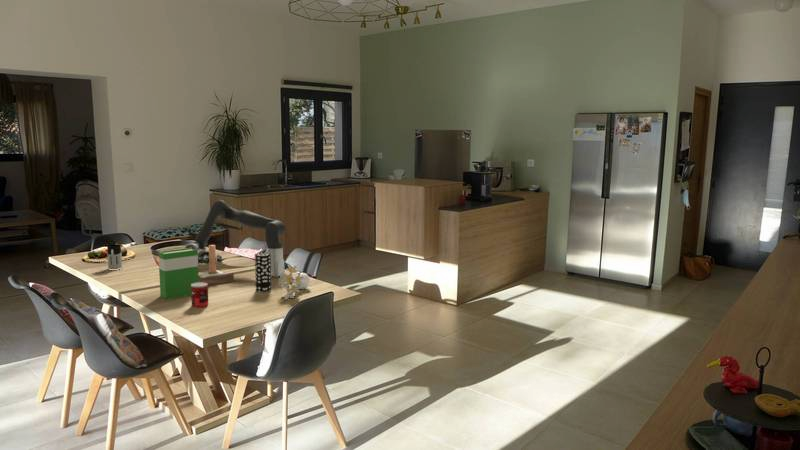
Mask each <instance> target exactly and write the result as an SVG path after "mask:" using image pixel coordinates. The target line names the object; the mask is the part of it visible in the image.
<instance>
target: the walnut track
mask: <svg viewBox="0 0 800 450" xmlns="http://www.w3.org/2000/svg"><path fill="white" fill-rule="evenodd" d="M234 277H235V274H234V272H232V273H224V274H223V275H216V276H209V277H202V278H201V277H199V282H204V283H207V284H208V286H211V285H217V284H224V283H231V282H234V281H235V280H234Z"/></svg>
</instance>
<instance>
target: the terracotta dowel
mask: <svg viewBox="0 0 800 450" xmlns="http://www.w3.org/2000/svg"><path fill="white" fill-rule="evenodd" d="M208 251H209V264H208V265H209V267H208V269H209V270H208V271H209V272H210V274H215V273H216V270H217V261H216V260H217V258H216V256H217V254H216V253H217V251H216V244H209V245H208Z"/></svg>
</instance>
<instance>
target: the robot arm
mask: <svg viewBox="0 0 800 450" xmlns="http://www.w3.org/2000/svg"><path fill="white" fill-rule="evenodd" d="M218 217H219V218H221V219H224V220H227V221H228V220H229V221H232V222H236V223H237V224H240V225H241V226H245V227H248V228H251V229H260V230H264V234H265V238H264V239H265V244H266V246H267V247H266V249H267V252H266V253H269V254H271V278H276V277H278V278H280V277H279V276H281V274H282V270H283V271H284V273H285V259H284V248H283V247H284V244H283V243H284V242H282V241H280V240H279V236H282V235H283V234H284V233H285V232H286V231H287V230H286V229H287V228H286V225H285V223H283V222H282V221H280V220H279V219H272V218H269V217H265V216H263V215H260V214H257V213H255V212H251V211H248V210H237V209H236V208H234V207H232V206H229V204H227V202H226V201H224V200H223V199H217V200H216V201H214V203H213V204H212V206H211V207H210V209H209V212H208V214H207V217H205V218H206V219H205V221H204V223H203V225H202V226H201V228H200V230H199V232H198V234H197V235H196V236H195V238H194V241H195V242H196V244H197V245H198V246H196V245H194V244H193V243H189V244H187V245H186V246H185V247H184V248H192V250H196V249H197V250H198V264H204V265H209V250H206V249H205V247H206V244H207V242H208V241H209V239H210V238H211V235H212V234H213V230H214V225H215V222H216V219H217V218H218ZM222 259H223V257H222V256H221V255H220V254H216V262H218V263H221V262H222V261H223V260H222ZM285 274H286V273H285ZM272 276H273V277H272Z"/></svg>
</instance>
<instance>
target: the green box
mask: <svg viewBox="0 0 800 450" xmlns="http://www.w3.org/2000/svg"><path fill="white" fill-rule="evenodd" d="M158 269H159V271H158V272H159V290H160V291H159V293H160V297H161V298H163V299H164V300H171V299H177V298H182V297H188V296H191V284H193V283H198V282H199V278H200V276H199V263H198V250H197V249H196V250H192V248H185V247H184V248H177V249H169V250H162V251H158Z"/></svg>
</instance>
